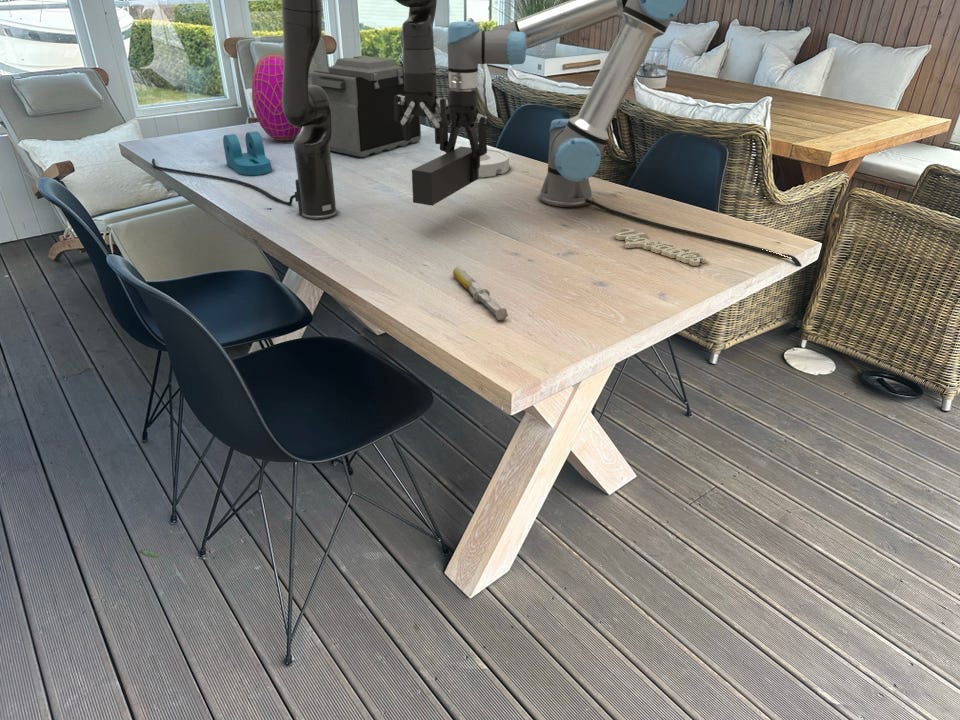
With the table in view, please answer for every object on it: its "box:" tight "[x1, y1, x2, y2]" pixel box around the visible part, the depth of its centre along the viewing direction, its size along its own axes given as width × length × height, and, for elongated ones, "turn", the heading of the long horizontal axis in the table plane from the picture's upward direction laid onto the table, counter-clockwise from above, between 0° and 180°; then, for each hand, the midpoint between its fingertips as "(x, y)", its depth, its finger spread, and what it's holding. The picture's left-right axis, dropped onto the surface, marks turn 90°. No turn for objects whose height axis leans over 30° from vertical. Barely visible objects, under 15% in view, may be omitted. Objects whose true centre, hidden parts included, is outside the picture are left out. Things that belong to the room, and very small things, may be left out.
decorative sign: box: [615, 227, 707, 267], centre depth 169 cm, size 26×1×10 cm
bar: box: [411, 146, 480, 207], centre depth 178 cm, size 27×6×8 cm, turn 155°
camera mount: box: [222, 131, 272, 176], centre depth 226 cm, size 18×10×10 cm, turn 35°
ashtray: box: [439, 148, 510, 178], centre depth 231 cm, size 23×23×4 cm
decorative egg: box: [251, 54, 303, 142], centre depth 257 cm, size 19×19×30 cm
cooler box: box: [310, 55, 422, 159], centre depth 250 cm, size 37×22×30 cm, turn 144°
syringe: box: [452, 266, 509, 321], centre depth 145 cm, size 25×4×3 cm, turn 21°
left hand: (423, 142), depth 166 cm, fingers open, 8 cm apart
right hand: (463, 179), depth 187 cm, fingers closed on bar, 5 cm apart
